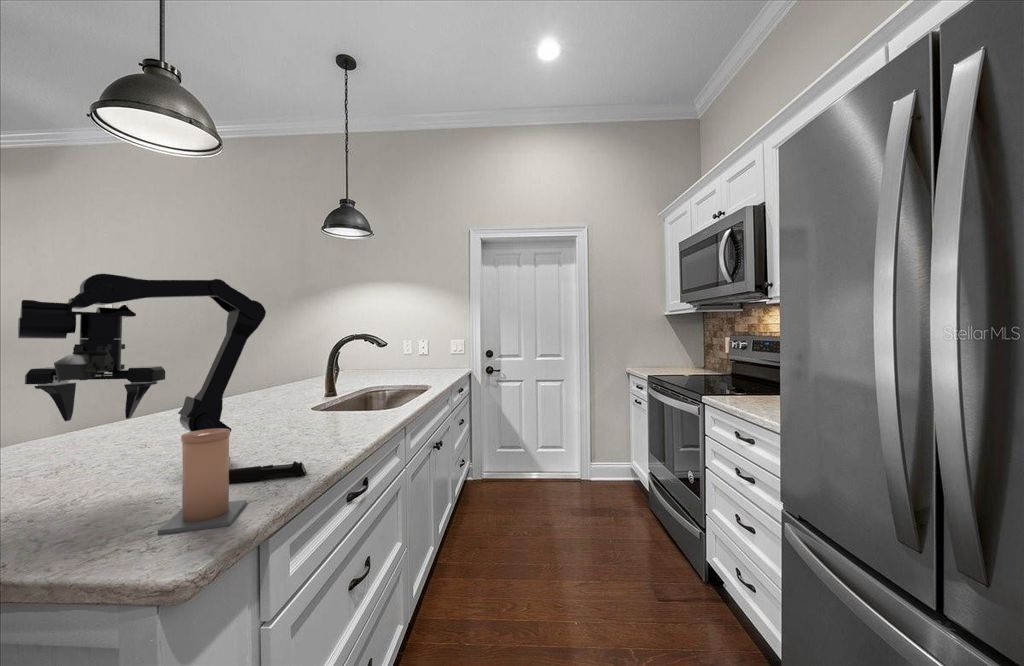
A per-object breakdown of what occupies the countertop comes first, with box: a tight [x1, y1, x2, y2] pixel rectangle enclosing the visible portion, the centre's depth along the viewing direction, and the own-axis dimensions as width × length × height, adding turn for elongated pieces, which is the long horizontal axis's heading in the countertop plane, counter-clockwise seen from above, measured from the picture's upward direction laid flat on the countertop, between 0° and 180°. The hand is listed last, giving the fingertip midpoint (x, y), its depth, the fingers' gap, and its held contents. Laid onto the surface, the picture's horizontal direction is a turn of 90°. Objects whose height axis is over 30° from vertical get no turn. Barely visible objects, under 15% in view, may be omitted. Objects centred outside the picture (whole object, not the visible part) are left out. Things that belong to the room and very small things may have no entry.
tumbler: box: [180, 428, 231, 522], centre depth 65 cm, size 6×6×13 cm
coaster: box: [157, 499, 248, 535], centre depth 65 cm, size 9×9×1 cm
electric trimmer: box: [229, 460, 307, 483], centre depth 83 cm, size 4×16×3 cm, turn 113°
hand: (98, 419), depth 78 cm, fingers open, 9 cm apart
